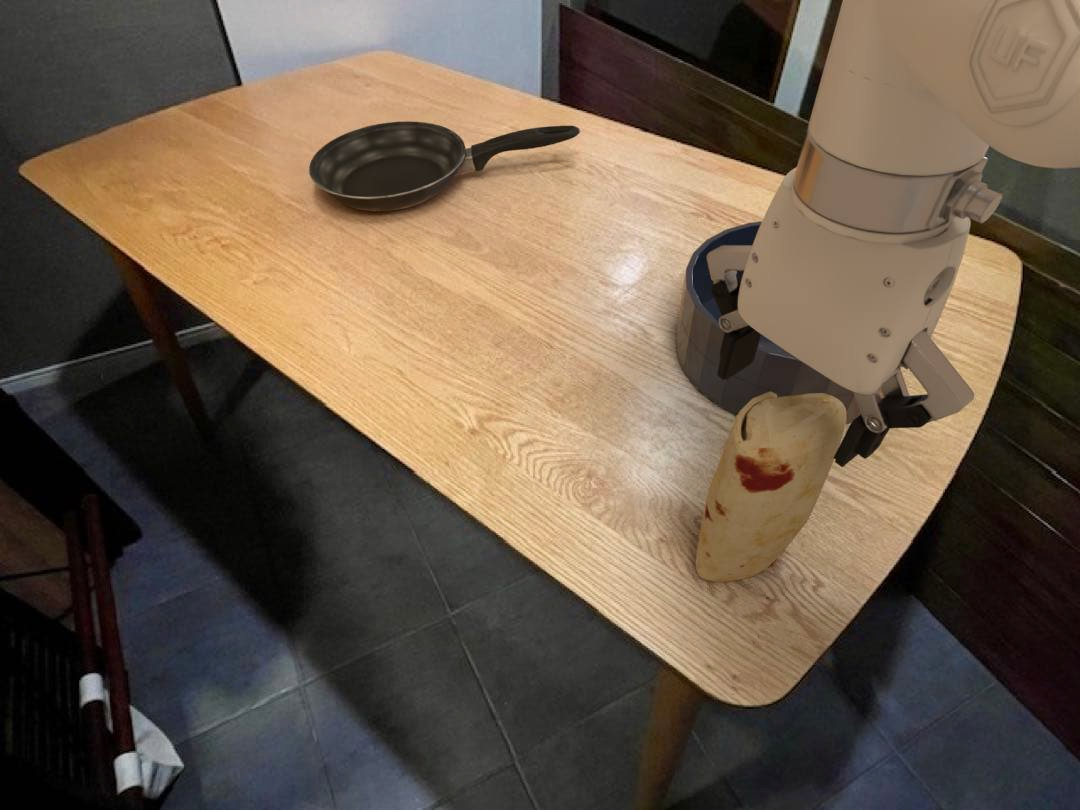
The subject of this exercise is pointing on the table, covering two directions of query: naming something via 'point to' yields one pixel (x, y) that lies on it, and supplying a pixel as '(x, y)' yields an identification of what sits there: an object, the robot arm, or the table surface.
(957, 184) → the robot arm
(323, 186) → the frying pan
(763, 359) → the pot
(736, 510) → the food model
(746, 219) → the table surface
